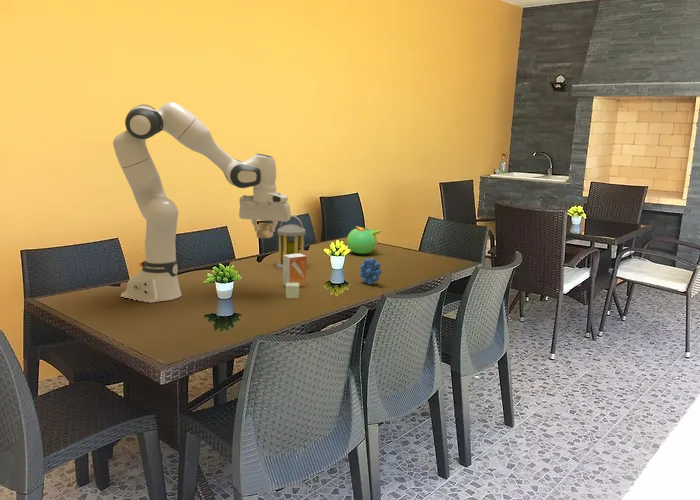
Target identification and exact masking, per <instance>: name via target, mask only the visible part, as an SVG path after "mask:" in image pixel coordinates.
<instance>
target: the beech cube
mask: <svg viewBox="0 0 700 500" xmlns="http://www.w3.org/2000/svg"><path fill="white" fill-rule="evenodd" d="M256 224H257V223H256ZM273 225H274V224H273V223H270V222H268V223H267V222H260V223H258V224H257V231H256V238H259V239H270V238H272V237H273V236H274V232H270V228H271V227H273Z"/></svg>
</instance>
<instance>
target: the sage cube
mask: <svg viewBox="0 0 700 500" xmlns="http://www.w3.org/2000/svg"><path fill="white" fill-rule="evenodd" d="M299 297H300V287H299V283H286V286H285V299H299Z"/></svg>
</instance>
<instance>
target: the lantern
mask: <svg viewBox="0 0 700 500" xmlns="http://www.w3.org/2000/svg"><path fill="white" fill-rule="evenodd" d="M291 218H294V219H296V220H297V221H298V222H299V223H300V225H299V224H298V223H297V224H296V223H287V224H283V223H284V221H280V222H281V223H280V225H279V228H277V231H276V232H277V235H278V262H276V264H275V265H276V267H275V268H276V269H278V270H280V271H283V255H289V254H298V253H300V254H303V255H305V235H306V234H307V233H306V229H305V228H304V226H303V225H304V224H303V222H302V220H301V219H300V218H299V217H298V216H296V215H295V214H294V215H293V214H291ZM290 237H294V240H290V239H289V238H290Z"/></svg>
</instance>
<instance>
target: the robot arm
mask: <svg viewBox="0 0 700 500" xmlns="http://www.w3.org/2000/svg"><path fill="white" fill-rule="evenodd" d="M126 114H127V115H126V116H125V119H124V125H125V128H126V130H125V131H123V132H120V133H118V134H117V135H116V136H115V137H114V139H113V141H112V144H113V145H112V146H113V150H114V152H115V156H116V159H117V161H118V163H119V165H120V167H121V170H122V172H123V174H124V176H125V179H126V181H127V183H128V184H129V187H130V188H131V191H132V194H133V196H134V200H135V201H136V204H137V207H138V209H139V211H140V213H141V215H142V217H143V218H144V219H145V220H146V222H145V223H146V225H145V226H146V227H145V238H144V250H145V251H144V253H145V256H144V257H145V260H143V261H142V262H141V263H139V267H142V268H141V270H140V271H139V272H137V273H136V274H135V275H133V276H132V277H131V278H130V279H129V280H128V282H127V284H126V290H125V291H123V292H122V293H121V294H120V298H121V297H124V298H129V299H128V300H130V299H133V300H132V301H136V300H138V301H137V302H142V301H143V302H142V303H148V302H149V303H152V304H153V303H156V302H157V303H158V302H164V301H172V300H175V299H178V298H180V297H181V296H183V294H182V291H181V289H180V283H179V279H178V271H179V270H178V260H177V255H176V253H177V251H176V236H177V228H178V219H179V210H178V206H177V204H175V202H174V201H173V200H172V199H170V198H168V196H167V194H166V191H165V188H164V186H163V184H162V179H161V176H160V174H159V171H158V169H157V167H156V165H155V163H154V161H153V158H152V156H151V153H150V152H149V150H148V147H147V143H146V141H147V140H148V139H150V138H152V137H154V136H155V135H157V134H159V133H160V132H163V131H164V132H165V133H167V134H169V135H170V136H171V137H173V138H174V139H175V140H176V141H178V142H179V143H180V144H181V145H182V146H184V147H186V148H187V149H188V150H191V151H193V152H196V153H197V154H198V153H199V154H200V155H203V156H204V157H206V158H208V160H209V161H211V162H212V163H213V164H214V165H216V167H218V169H220V170H221V171H222V172H223V174H224V177H225V179H226V181H227V182H228V183H229V184H230V185H232V186H234V187H236V188H239V189H246V188H250V187H252V188H253V189H252V190H253V192H252V195H242V196H241V197H240V198H239V199H238V200H239V211H238V212H239V213H238V214H239V215H238V217H239V218H240V219H241V220H251V224H252V226H253V228H254V232H257V222H258V221H268V222H269V221H270V222H272V224H273V227H271V228H270V232H273V233H275V232H276V227H277V225H278V224H279V222H282V221H283V223H284V222H288V221H289V222H290V220H291V218H292V217H291V215H292V214H291V213H292V211H291V206H290V204H289V202H288V201H289V196H288V195H286V194H284V193H281V192H278V191H277V186H276V180H277V164H276V160H275V159H274V157H273V156H271V155H267V154H263V153H255V154H254V155H253V156H251V157H250V158H248V159H246V160H245V159H244V160H243V161H242V160H239V159H236V158H233V157H232V156H230V155H229V153H227V152H226V151H225V150H224V149H223V148H222V147H220V146H219V145H218V144H217V142H216V141H215V140H214V138H213V136H212V133H211V131H210V129H209V128H208V127H207V126H206V124H205V123H204V122H202V120H200V118H198V117H197V116H196V115H195V114H194V113H193V112H191V111H190V110H188V109H187V108H186V107H184V106H183V105H181V104H179V103H177V102H175V101H168V102H165V103H164V104H162V106H161V107H159V108H158V109H156V108H154V107H153V106H150V105H149V104H139V105H136V106H134V107H132V108H131V109H130V110H129V111H128V113H126ZM124 298H123V299H124Z"/></svg>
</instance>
